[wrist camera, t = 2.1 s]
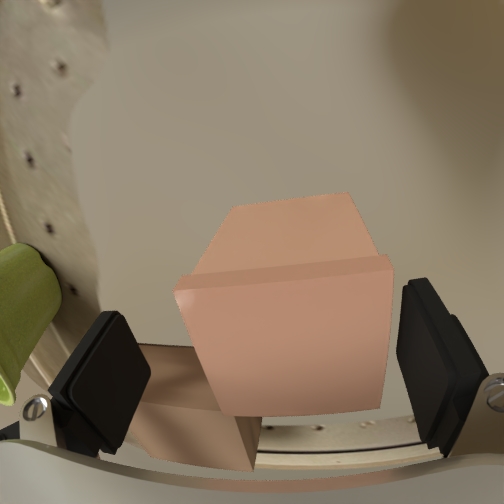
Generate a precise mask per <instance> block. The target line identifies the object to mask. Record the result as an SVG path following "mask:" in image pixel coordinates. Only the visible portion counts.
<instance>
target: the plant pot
mask: <svg viewBox="0 0 504 504" xmlns="http://www.w3.org/2000/svg"><path fill="white" fill-rule="evenodd" d="M61 301H62V295H61V290H60V286H59V283H58V280H57V278H56V276H55V274H54V272H53V270H52V269H51V268H49V267H48V266H47V265H46V264H45V263H44V262H43V261H42V259H41V257H40V254H39V253H38V252H37V251H36V250H35V249H34V248H32V247H30V246H28V245H26V244H23V243H16V244H13V245H11V246H9V247H7V248H5V249H3V250H1V251H0V403H1V404H4V405H7V406H11V405H13V404H14V403H15V400H16V394H15V389H16V387H17V384H18V383H19V380H20V374H21V373H20V372H21V370H22V369H23V367H24V365H25V363H26V361H27V360H28V358H29V356H30V354H31V353H32V351H33V349H34V348H35V346H36V344H37V343H38V341H39V339H40V338H41V336H42V334H43V333H44V331H45V330H46V328H47V327H48V325H49V324H50V322H51V321H52V319H53V318H54V316H55V315H56V313H57V311H58V310H59V308H60V306H61Z"/></svg>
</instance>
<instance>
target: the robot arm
mask: <svg viewBox="0 0 504 504" xmlns="http://www.w3.org/2000/svg"><path fill="white" fill-rule="evenodd" d="M396 354H397V359H398V362H399V366H400V369H401V372H402V375H403V378H404V381H405V385H406V388H407V392H408V395H409V398H410V402H411V405H412V409H413V413H414V416H415V420H416V424H417V428H418V432H419V436H420V439H421V441H422V442H424V441H426V442H427V446H428V449H432V448H435V447H439V450H440V453H441V454H443V456H442V458H441V459H438V460H433V461H428V462H424V463H418V464H414V465H409V466H404V467H399V468H394V469H388V470H383V471H377V472H370V473H363V474H356V475H348V476H339V477H330V478H320V479H305V480H281V481H255V480H252V481H251V480H227V479H213V478H202V477H192V476H184V475H176V474H169V473H162V472H156V471H150V470H145V469H140V468H134V467H130V466H124V465H120V464H116V463H112V462H108V461H104V460H100V457H99V454H98V452H99V449H101V451H102V452H104V453H109V454H113V455H115V454H116V451H117V449H118V448H119V447H121V445H122V443H123V441H124V438H125V436H126V433H127V431H128V428H129V426H130V424H131V421H132V419H133V416H134V414H135V412H136V409H137V407H138V404H139V402H140V400H141V397H142V395H143V393H144V390H145V388H146V386H147V383H148V381H149V379H150V376H151V368H150V366H149V364H148V362H147V360H146V358H145V357H144V355H143V353H142V351H141V349H140V347H139V345H138V343H137V342H136V339H135V338H134V335H133V333H132V332H131V329H130V327H129V326H128V323H127V321H126V319H125V317H124V316H123V315H121V314H120V313H119V312H118V311H104V312H102V313H101V314H100V315H99V317H98V318H97V319H96V321H95V322H94V323H93V325H92V326H91V327H90V329H89V330H88V332H87V333H86V334H85V336H84V337H83V339H82V340H81V341H80V343H79V344H78V346H77V347H76V349H75V350H74V352H73V353H72V354H71V356H70V357H69V359H68V360H67V362H66V363H65V365H64V366H63V368H62V369H61V371H60V372H59V374H58V375H57V377H56V378H55V380H54V381H53V383H52V384H51V386H50V387H49V389H48V391H49V393H50V394H51V395H52V396H53V397H52V399H51V400H50V399H49V397H48V396H46V395H44V394H38V395H34V396H32V397H31V398H29V399H28V400H27V401H26V402H25V403H24V404H23V406H22V408H21V410H20V415H19V421H17V422H15V423H13V424H11V425H10V426H7V427H5V428H3V429H1V430H0V504H504V373H496V374H492V375H489V373H488V371H487V370H486V368H485V366H484V364H483V362H482V360H481V358H480V357H479V354H478V353H477V351H476V349H475V347H474V345H473V344H472V342H471V340H470V339H469V337H468V335H467V333H466V331H465V330H464V328H463V326H462V325H461V323H460V321H459V320H458V318H457V317H456V316H455V315H453V314H451V315H450V313H449V312H448V310H447V309H446V307H445V305H444V304H443V302H442V301H441V299H440V297H439V296H438V294H437V293H436V291H435V290H434V288H433V286H432V285H431V283H430V282H429V280H428V279H427V278H418V279H413V280H409V282H408V285H405V286H403V291H402V302H401V314H400V323H399V332H398V340H397V347H396Z"/></svg>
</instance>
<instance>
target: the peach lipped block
mask: <svg viewBox="0 0 504 504" xmlns="http://www.w3.org/2000/svg"><path fill="white" fill-rule="evenodd" d="M393 283H394V268H393V266H392V264H391V262H390V260H389V258H388V256H387V255H379V254H378V252H377V249H376V248H375V245H374V243H373V241H372V239H371V237H370V234H369V232H368V230H367V228H366V226H365V224H364V222H363V220H362V218H361V216H360V215H359V212H358V210H357V208H356V206H355V204H354V202H353V201H352V198H351V196H350V195H349V193H348V192H344V193H334V194H326V195H317V196H309V197H301V198H292V199H285V200H277V201H269V202H262V203H255V204H248V205H241V206H234V207H232V209H231V210H230V212H229V214H228V215H227V217H226V219H225V220H224V222H223V223H222V225H221V227H220V228H219V230H218V231H217V233H216V234H215V236H214V238H213V239H212V241H211V243H210V244H209V246H208V248H207V249H206V251H205V253H204V254H203V256H202V257H201V259H200V261H199V262H198V264H197V266H196V268H195V269H194V271H193V272H192V274H191V275H184V276H181V278H180V280H179V281H178V283H177V284H176V286H175V288H174V289H173V293H174V296H175V299H176V301H177V304H178V307H179V310H180V312H181V315H182V317H183V320H184V323H185V325H186V328H187V331H188V333H189V335H190V338H191V341H192V343H193V346H194V348H195V351H196V353H197V356H198V358H199V360H200V363H201V365H202V368H203V370H204V372H205V375H206V377H207V379H208V382H209V384H210V386H211V389H212V391H213V393H214V395H215V398H216V400H217V402H218V404H219V406H220V409H221V411H222V413H223V415H224V416H247V417H273V416H305V415H319V414H320V415H321V414H334V413H345V412H354V411H362V410H371V409H378V408H380V403H381V398H382V392H383V385H384V378H385V372H386V365H387V356H388V348H389V339H390V327H391V316H392V302H393Z"/></svg>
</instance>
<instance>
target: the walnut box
mask: <svg viewBox="0 0 504 504" xmlns="http://www.w3.org/2000/svg"><path fill="white" fill-rule="evenodd" d="M138 345H139V347H140V349H141V351H142V353H143V355H144V357H145V358H146V360H147V362H148V364H149V366H150V368H151V376H150V379H149V381H148V383H147V386H146V388H145V390H144V393H143V395H142V397H141V400H140V402H139V404H138V407H137V409H136V412H135V414H134V416H133V419H132V421H131V424H130V426H129V428H128V429H129V430H130V431H131V433H132V434H133V435H134V437H135V438H136V439H137V441H138V442H139V443H140V444H141V446H142V447H143V448H144V449H145V451H146V452H147V453H148V454H149V456H150V457H153V458H157V459H162V460H167V461H172V462H178V463H183V464H189V465H195V466H201V467H209V468H217V469H225V470H235V471H247V472H253V470H254V466H255V460H256V454H257V448H258V442H259V436H260V430H261V422H262V417H247V416H224V415H223V413H222V411H221V409H220V406H219V404H218V402H217V400H216V398H215V395H214V393H213V391H212V389H211V386H210V384H209V382H208V379H207V377H206V375H205V372H204V370H203V368H202V365H201V363H200V360H199V358H198V356H197V353H196V351H195V348H194V346H179V345H162V344H147V343H138Z"/></svg>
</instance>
